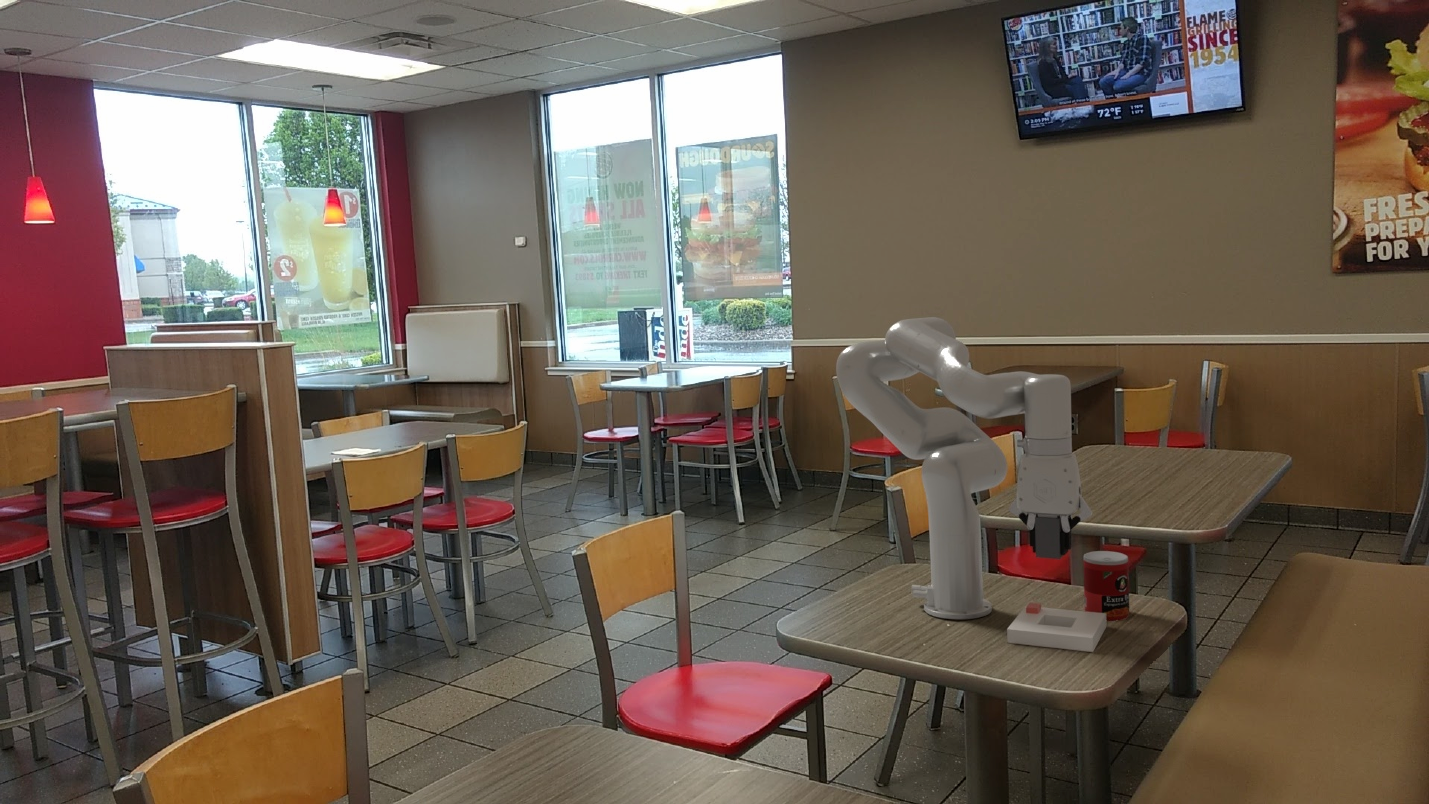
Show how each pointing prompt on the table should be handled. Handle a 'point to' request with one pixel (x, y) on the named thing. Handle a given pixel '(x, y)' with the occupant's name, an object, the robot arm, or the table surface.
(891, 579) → the table surface
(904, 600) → the table surface
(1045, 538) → the plug
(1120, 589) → the canned food
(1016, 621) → the socket plate
